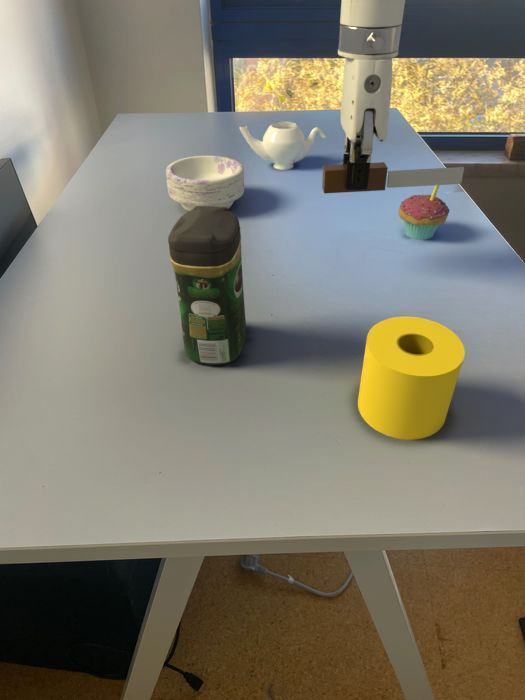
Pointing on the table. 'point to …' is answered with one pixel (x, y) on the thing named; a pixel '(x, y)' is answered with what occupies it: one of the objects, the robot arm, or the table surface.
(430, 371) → the tape roll
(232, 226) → the coffee jar
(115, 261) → the table surface
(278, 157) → the teapot
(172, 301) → the table surface
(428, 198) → the cupcake
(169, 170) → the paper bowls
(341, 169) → the knife
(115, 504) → the table surface
